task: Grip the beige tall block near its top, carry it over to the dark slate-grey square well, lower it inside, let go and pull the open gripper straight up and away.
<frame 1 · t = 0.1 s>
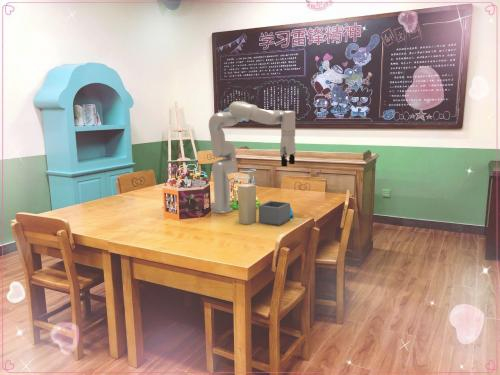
hand: (288, 165, 228), 31 cm above the table, tool pointing down, fingers open, 9 cm apart
beige tall block: (247, 222, 230), on the table
lever: (284, 215, 246), on the table
well: (274, 221, 230), on the table
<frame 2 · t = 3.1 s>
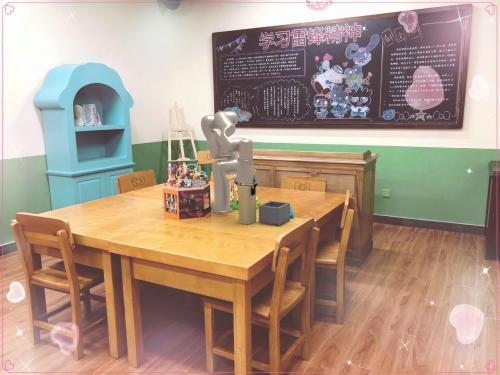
hand: (246, 194, 227), 16 cm above the table, tool pointing down, fingers closed on beige tall block, 7 cm apart
beige tall block: (247, 222, 230), on the table, touching gripper
everything else where it was.
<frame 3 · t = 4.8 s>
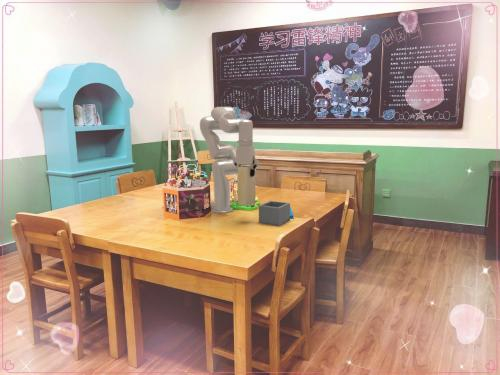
hand: (245, 175, 226), 26 cm above the table, tool pointing down, fingers closed on beige tall block, 7 cm apart
beige tall block: (246, 204, 229), point 10 cm above the table, touching gripper
everything else where it was.
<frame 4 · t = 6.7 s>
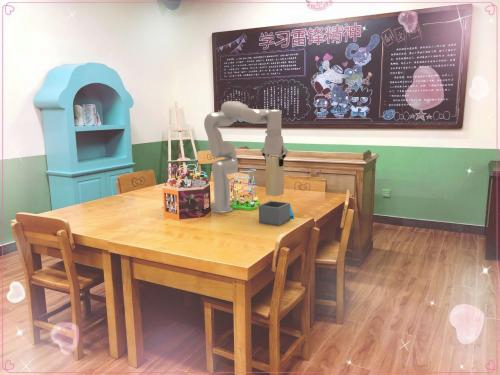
hand: (274, 165, 224), 31 cm above the table, tool pointing down, fingers closed on beige tall block, 7 cm apart
beige tall block: (274, 194, 227), point 15 cm above the table, touching gripper
everything else where it was.
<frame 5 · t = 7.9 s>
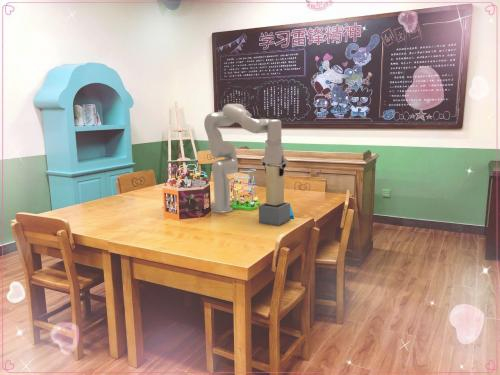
hand: (274, 175, 225), 26 cm above the table, tool pointing down, fingers closed on beige tall block, 7 cm apart
beige tall block: (274, 203, 228), point 10 cm above the table, touching gripper
everything else where it was.
when the fingers open (18 cm above the table, at t = 10.3 s): beige tall block drops 1 cm, resting on well.
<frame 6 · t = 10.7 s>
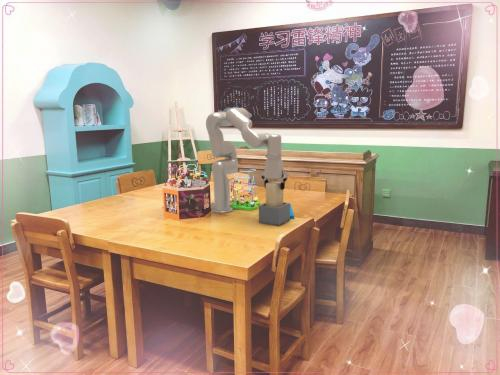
hand: (274, 188, 227), 19 cm above the table, tool pointing down, fingers open, 9 cm apart
beige tall block: (274, 220, 230), point 1 cm above the table, touching well
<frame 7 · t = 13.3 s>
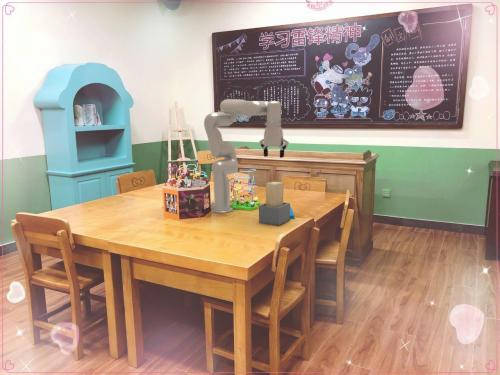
hand: (273, 156, 224), 36 cm above the table, tool pointing down, fingers open, 9 cm apart
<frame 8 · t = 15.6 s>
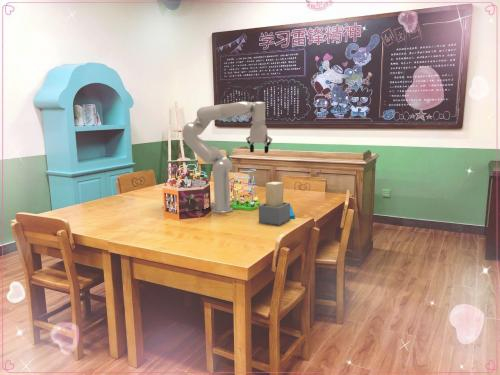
hand: (259, 152, 245), 36 cm above the table, tool pointing down, fingers open, 9 cm apart
at the end: beige tall block 0.2 cm off-centre on the well, point 0.8 cm above the well's base; beige tall block tilted 0°; the gripper is holding nothing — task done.
